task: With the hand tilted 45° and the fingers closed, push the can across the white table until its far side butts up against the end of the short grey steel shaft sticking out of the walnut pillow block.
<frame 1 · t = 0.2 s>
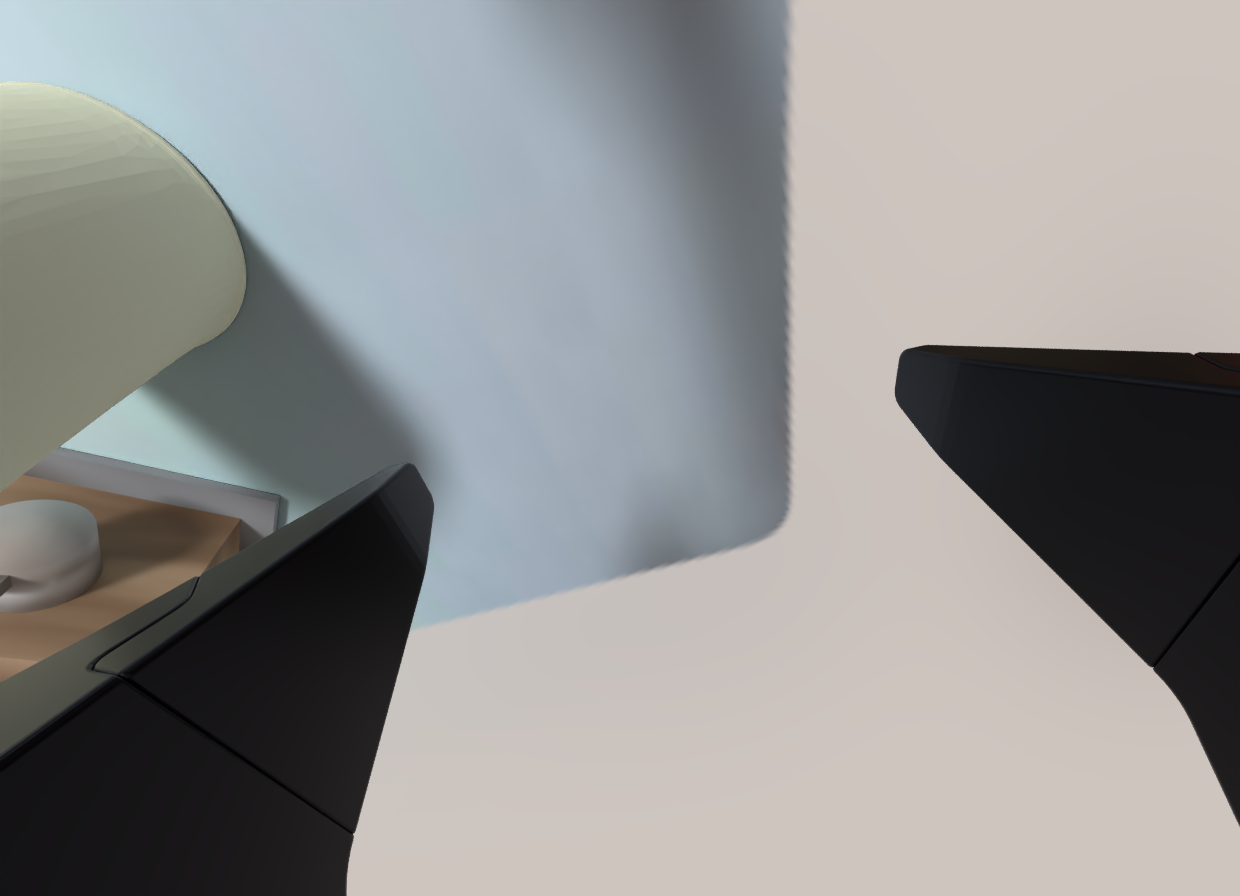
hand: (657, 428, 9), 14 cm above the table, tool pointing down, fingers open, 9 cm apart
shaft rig: (126, 449, 24), on the table
can: (110, 233, 19), on the table
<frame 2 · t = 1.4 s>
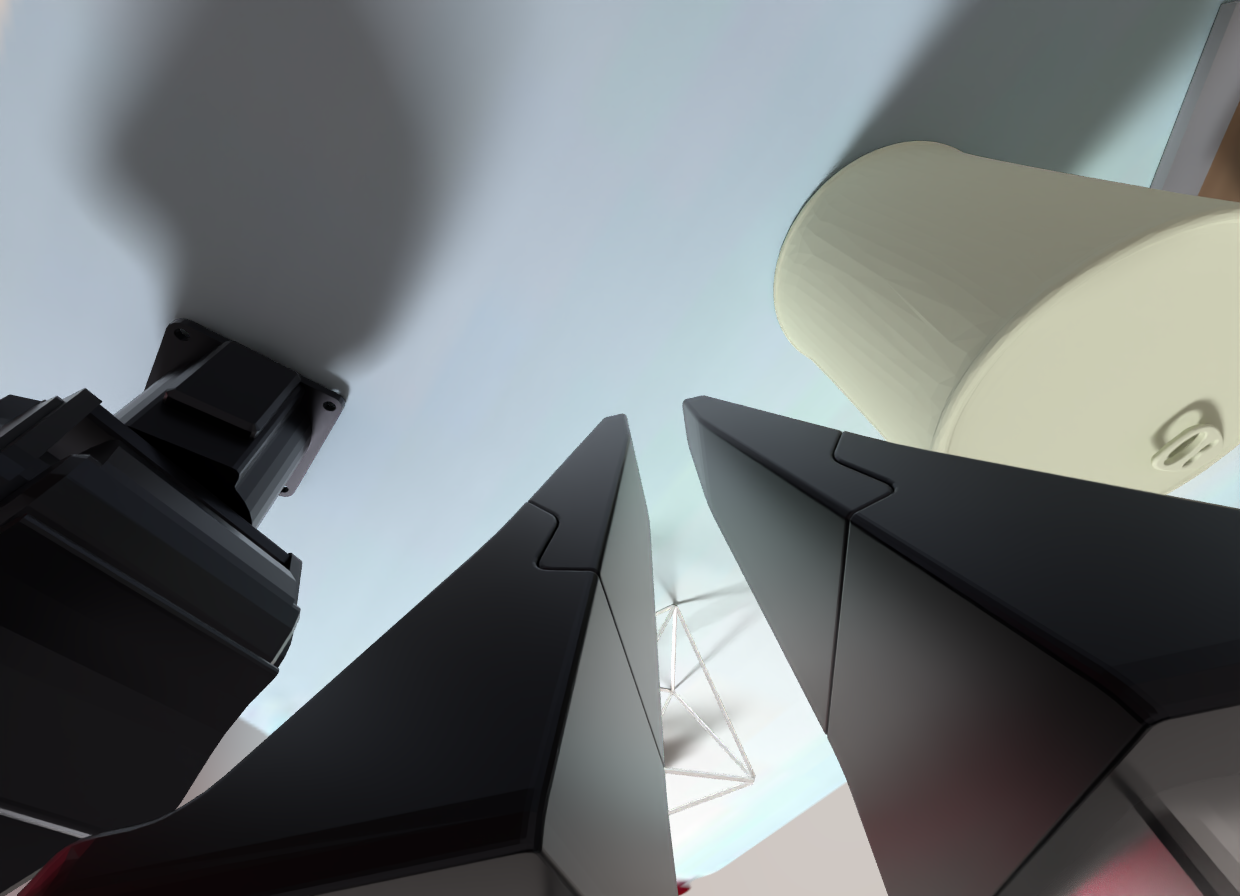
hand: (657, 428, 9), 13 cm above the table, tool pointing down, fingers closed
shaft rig: (1123, 210, 21), on the table
geometric polyhedron: (630, 653, 37), on the table
can: (876, 265, 22), on the table
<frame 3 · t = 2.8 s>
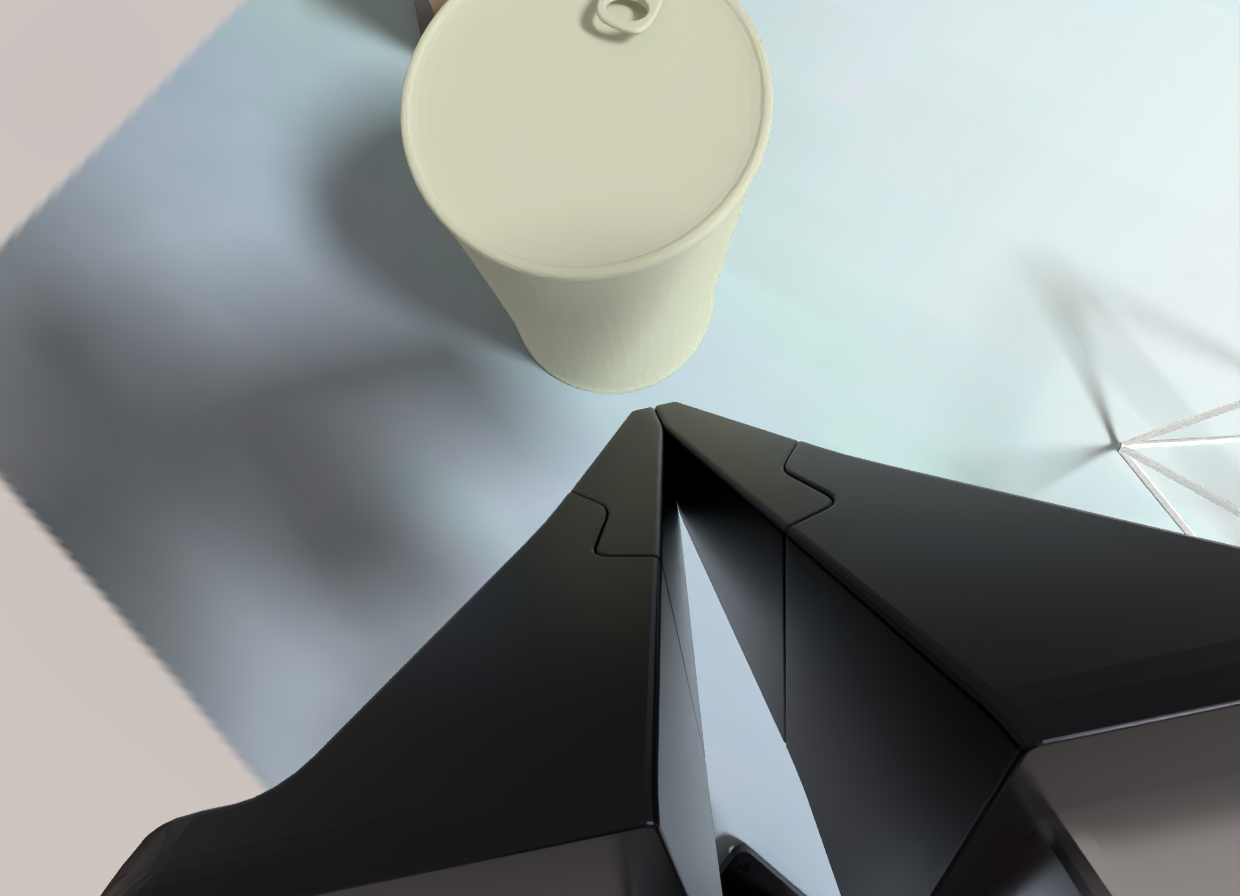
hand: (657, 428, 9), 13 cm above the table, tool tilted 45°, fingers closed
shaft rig: (569, 100, 25), on the table
can: (612, 298, 24), on the table
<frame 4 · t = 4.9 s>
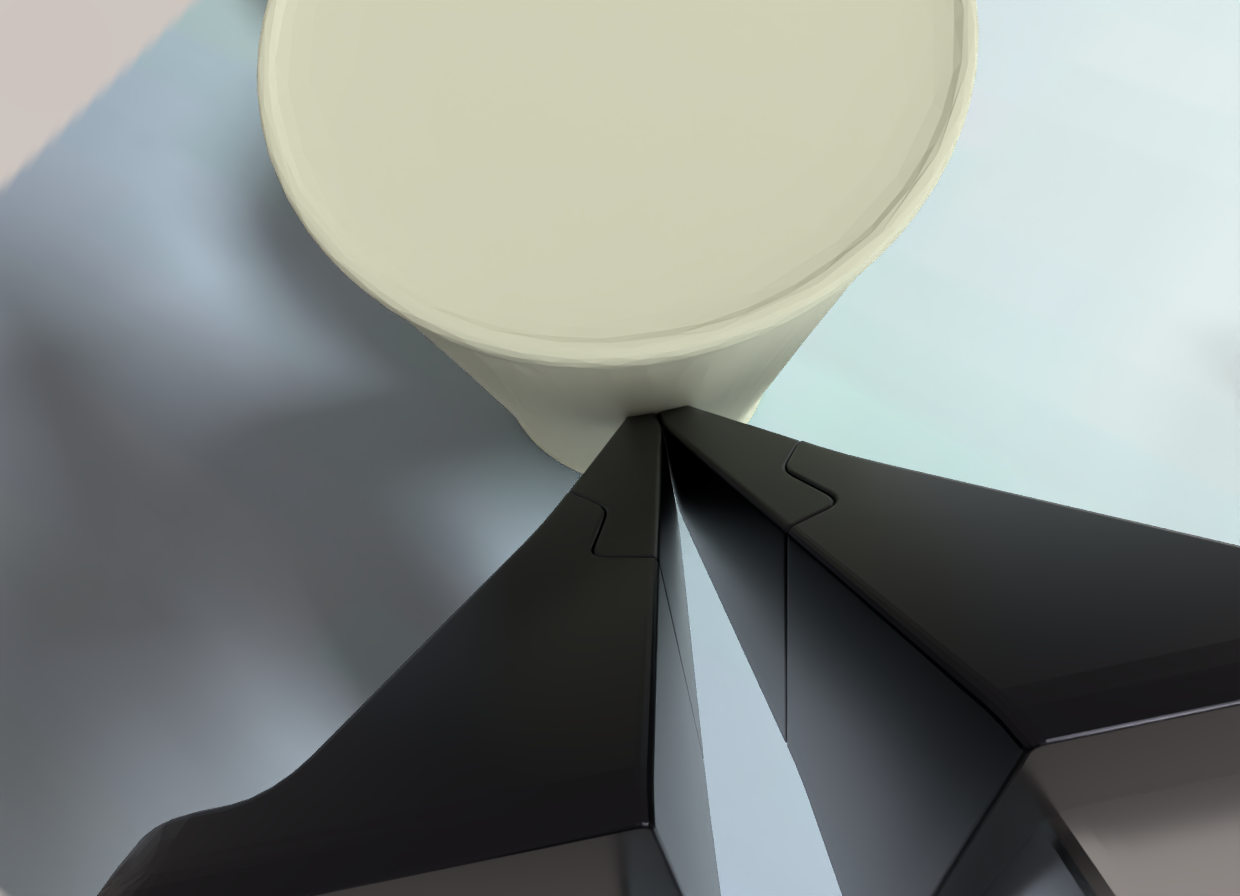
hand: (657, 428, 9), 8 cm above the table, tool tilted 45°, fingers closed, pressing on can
can: (633, 352, 18), on the table, touching gripper
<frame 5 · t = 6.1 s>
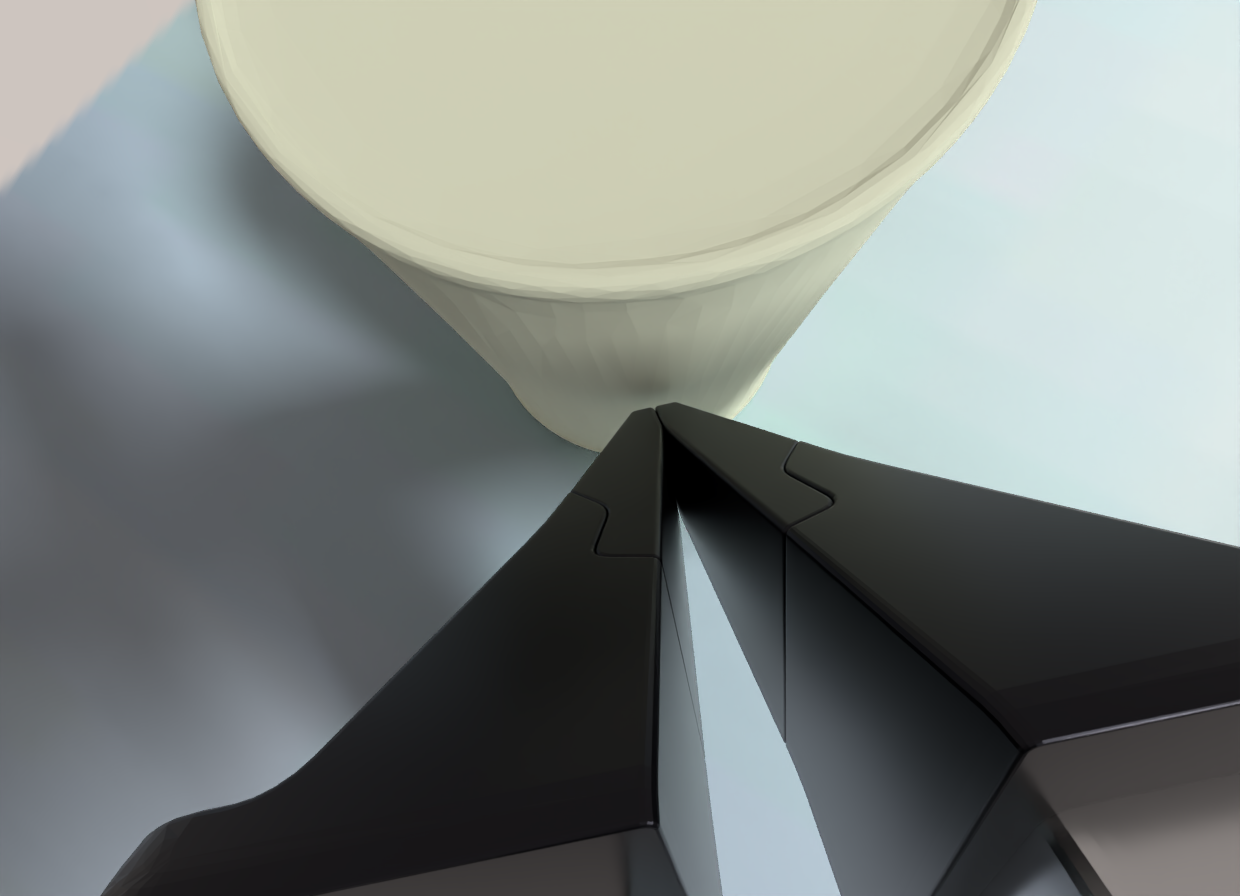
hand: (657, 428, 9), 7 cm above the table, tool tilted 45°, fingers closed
can: (634, 319, 17), on the table
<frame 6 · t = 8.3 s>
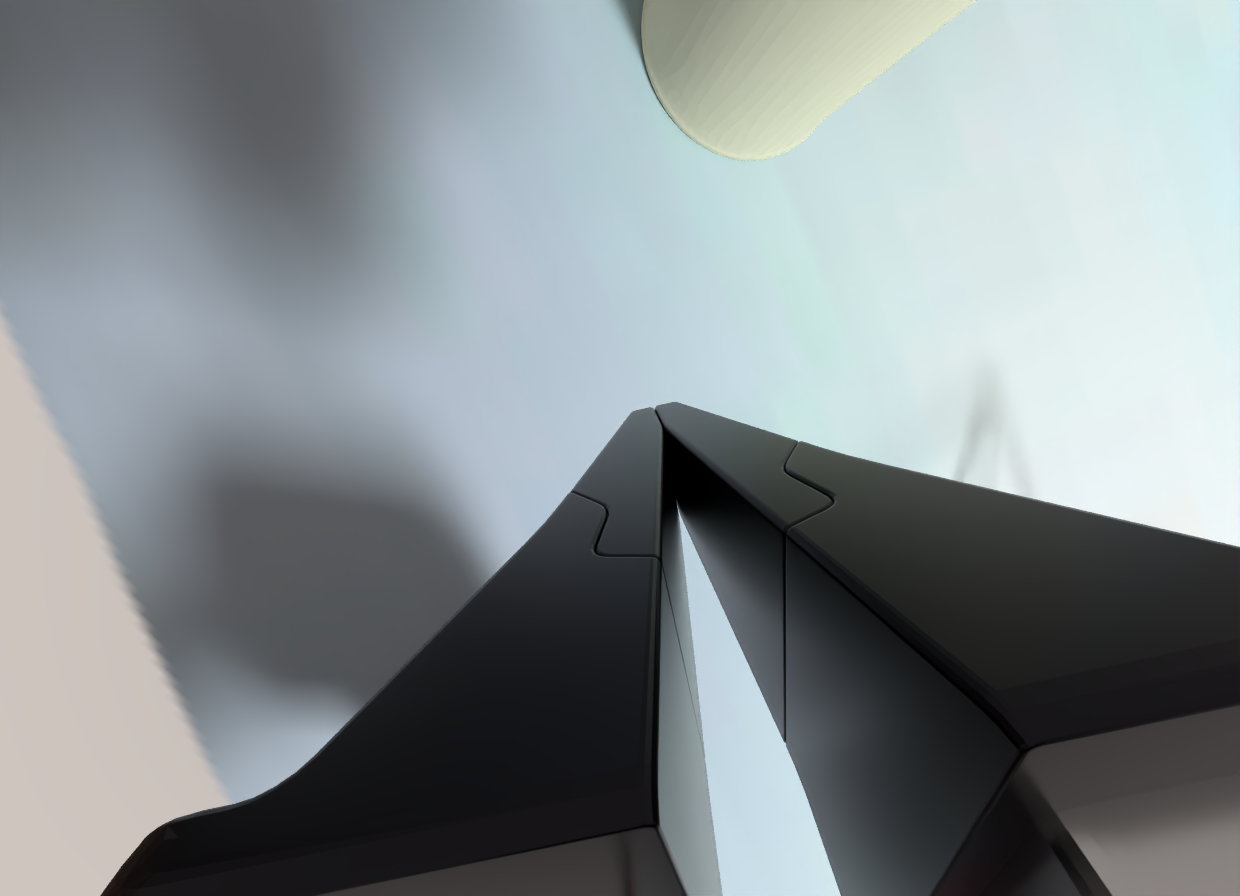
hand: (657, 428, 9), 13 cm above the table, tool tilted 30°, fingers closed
can: (741, 50, 22), on the table
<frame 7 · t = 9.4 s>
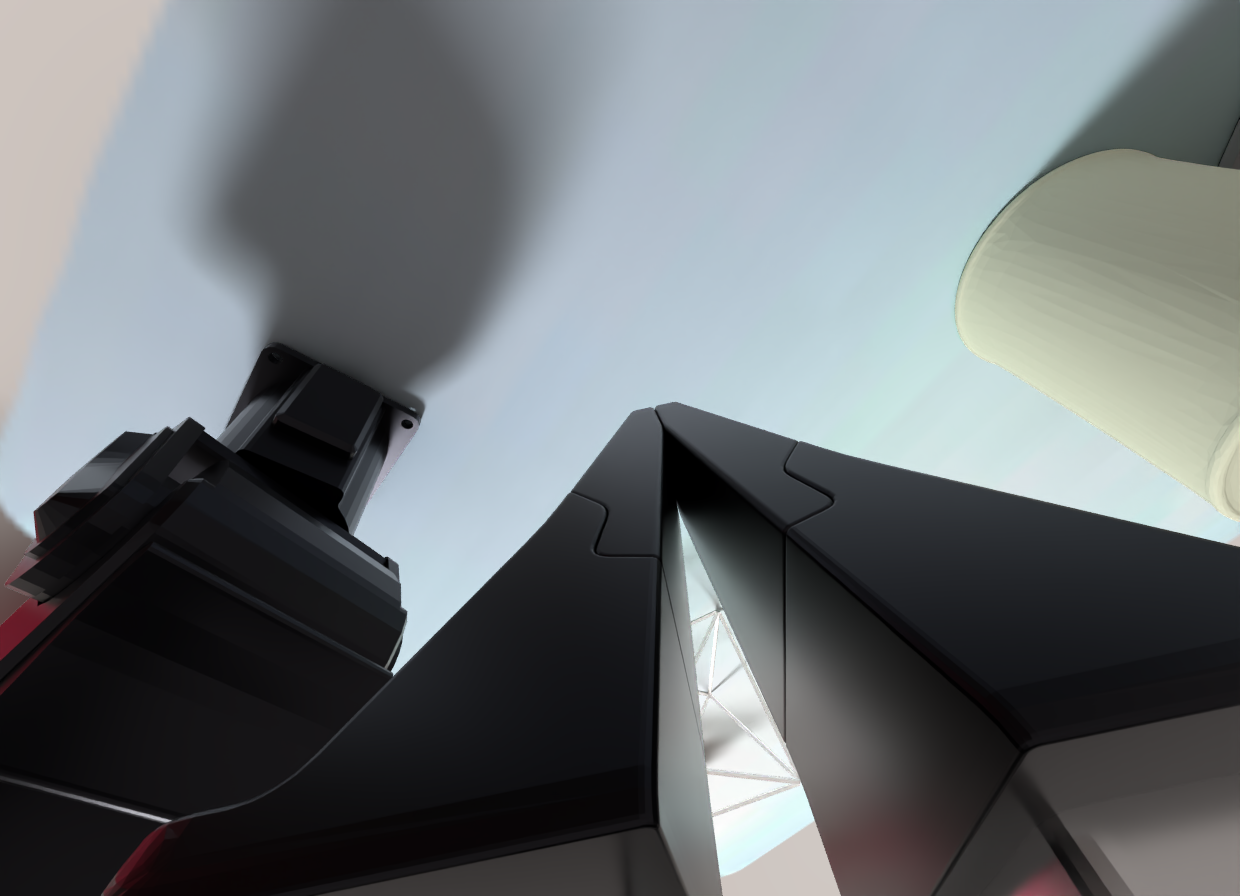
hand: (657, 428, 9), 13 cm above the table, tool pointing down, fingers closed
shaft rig: (1171, 234, 22), on the table
geometric polyhedron: (671, 657, 38), on the table
can: (1054, 267, 23), on the table
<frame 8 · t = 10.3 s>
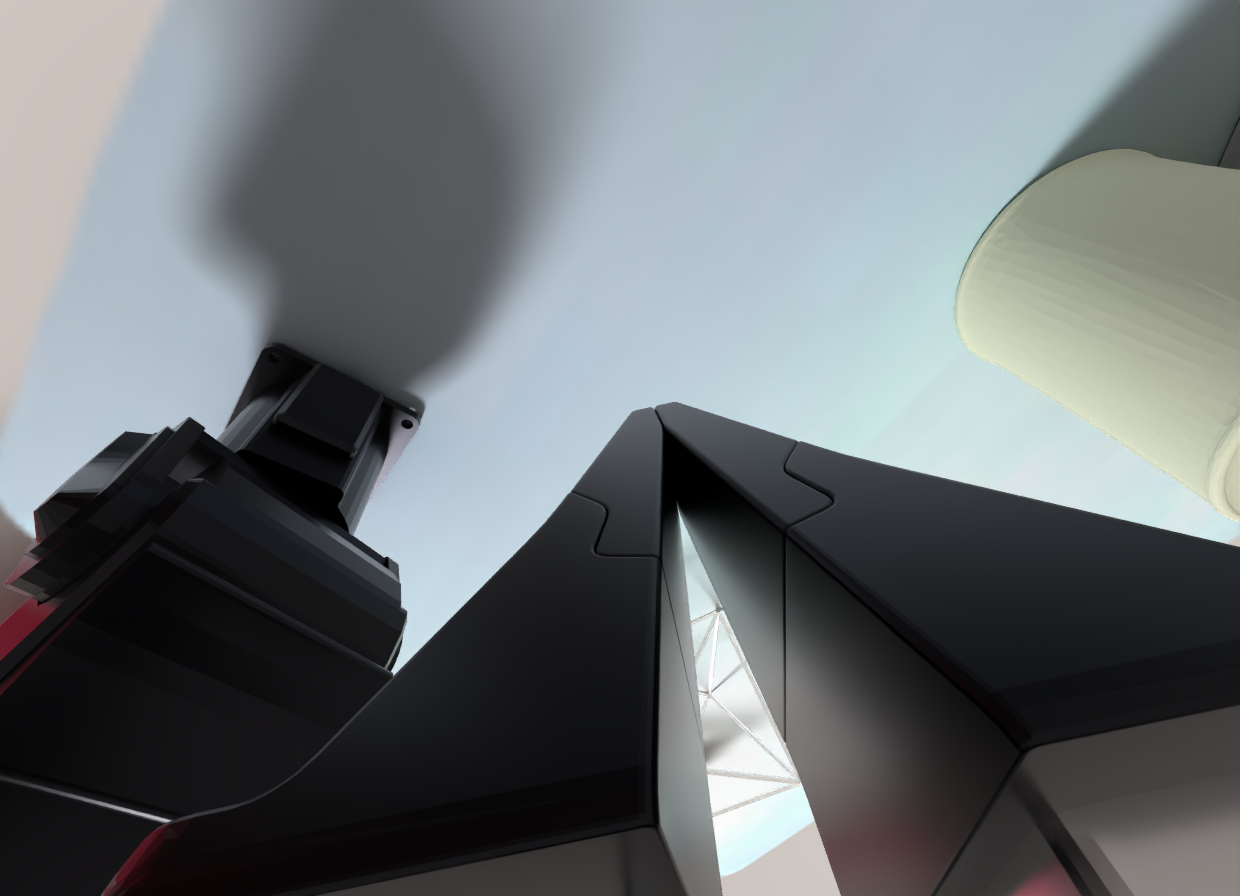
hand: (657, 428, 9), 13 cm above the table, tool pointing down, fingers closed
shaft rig: (1171, 234, 22), on the table
geometric polyhedron: (671, 657, 38), on the table
can: (1054, 267, 23), on the table
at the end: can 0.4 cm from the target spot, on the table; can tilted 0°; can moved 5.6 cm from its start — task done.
